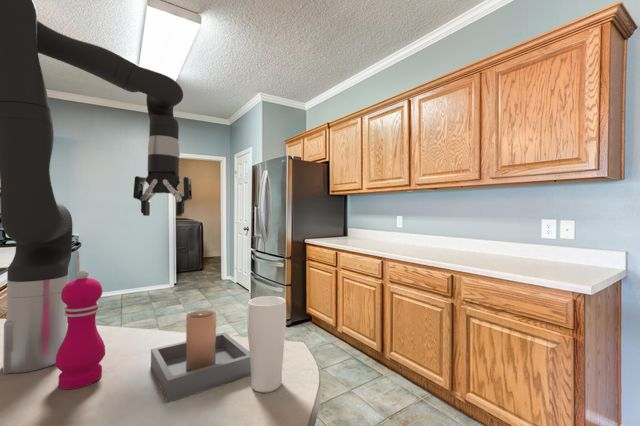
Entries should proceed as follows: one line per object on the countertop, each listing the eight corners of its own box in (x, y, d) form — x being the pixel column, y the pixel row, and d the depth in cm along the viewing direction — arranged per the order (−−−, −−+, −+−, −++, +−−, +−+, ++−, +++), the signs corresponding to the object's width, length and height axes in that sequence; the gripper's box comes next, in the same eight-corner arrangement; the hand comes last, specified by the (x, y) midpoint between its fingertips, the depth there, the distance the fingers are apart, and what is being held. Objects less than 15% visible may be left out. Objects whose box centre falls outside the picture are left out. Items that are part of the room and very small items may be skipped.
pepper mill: (64, 374, 59) (66, 267, 59) (109, 367, 61) (111, 266, 62) (46, 394, 52) (49, 274, 52) (98, 386, 55) (100, 272, 55)
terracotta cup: (190, 375, 57) (191, 320, 57) (182, 364, 61) (183, 313, 61) (219, 367, 60) (220, 314, 60) (210, 357, 64) (210, 308, 64)
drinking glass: (278, 398, 51) (278, 307, 51) (240, 394, 52) (240, 304, 53) (290, 378, 58) (290, 296, 58) (256, 374, 59) (256, 294, 59)
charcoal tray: (167, 402, 50) (167, 380, 50) (150, 366, 62) (151, 349, 62) (253, 374, 59) (254, 355, 59) (224, 347, 71) (225, 332, 71)
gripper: (128, 152, 79) (127, 215, 79) (185, 153, 80) (184, 216, 80) (143, 157, 87) (142, 215, 87) (195, 158, 88) (194, 216, 87)
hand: (162, 215), depth 83 cm, fingers open, 8 cm apart
